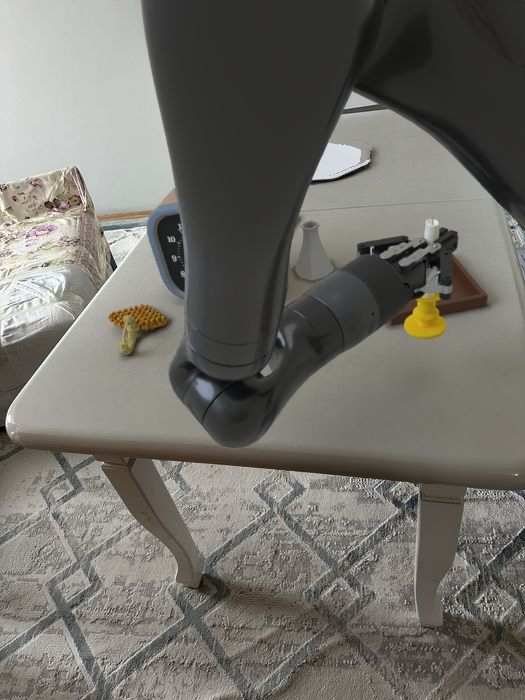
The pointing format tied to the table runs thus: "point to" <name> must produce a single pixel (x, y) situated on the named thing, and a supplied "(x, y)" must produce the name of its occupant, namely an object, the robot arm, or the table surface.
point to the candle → (427, 301)
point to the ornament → (135, 323)
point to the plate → (338, 162)
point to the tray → (452, 296)
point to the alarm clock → (168, 243)
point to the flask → (312, 254)
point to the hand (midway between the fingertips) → (449, 236)
